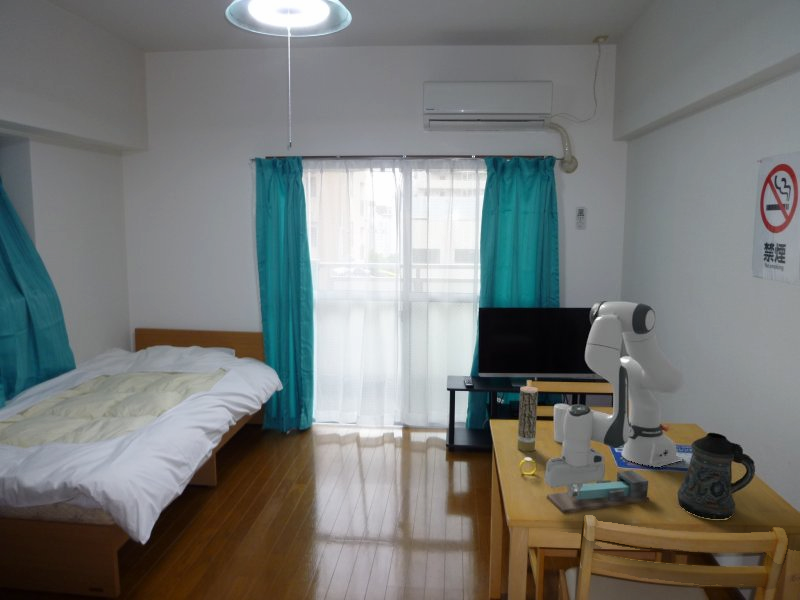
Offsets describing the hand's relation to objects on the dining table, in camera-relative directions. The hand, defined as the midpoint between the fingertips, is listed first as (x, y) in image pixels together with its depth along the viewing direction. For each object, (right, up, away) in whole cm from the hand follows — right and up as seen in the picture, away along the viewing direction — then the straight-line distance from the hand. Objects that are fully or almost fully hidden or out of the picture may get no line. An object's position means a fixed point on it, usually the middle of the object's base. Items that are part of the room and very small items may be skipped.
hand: (573, 495), depth 184 cm
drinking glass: (+10, +5, +50) cm, 51 cm away
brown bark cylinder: (-6, +4, +42) cm, 42 cm away
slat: (+11, -1, +4) cm, 12 cm away
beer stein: (+43, -4, -2) cm, 44 cm away
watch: (-10, +1, +20) cm, 22 cm away
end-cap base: (+9, -2, +3) cm, 10 cm away
